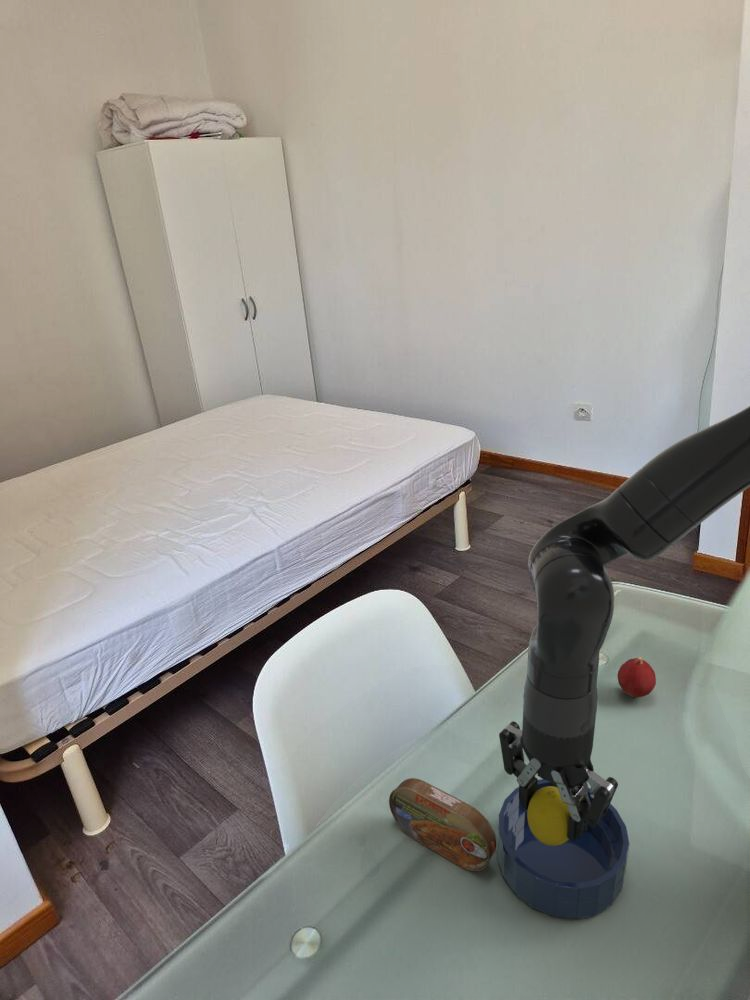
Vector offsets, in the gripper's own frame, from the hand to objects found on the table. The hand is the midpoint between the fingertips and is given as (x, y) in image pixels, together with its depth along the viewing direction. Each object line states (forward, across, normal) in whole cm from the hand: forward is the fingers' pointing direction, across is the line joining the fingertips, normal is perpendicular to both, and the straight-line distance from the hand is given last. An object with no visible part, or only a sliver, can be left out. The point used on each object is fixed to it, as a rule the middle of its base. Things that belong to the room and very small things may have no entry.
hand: (551, 818), depth 81 cm
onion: (+11, +7, -37) cm, 39 cm away
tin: (+11, +12, +5) cm, 17 cm away
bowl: (+10, 0, -3) cm, 11 cm away
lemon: (+4, 0, 0) cm, 4 cm away
